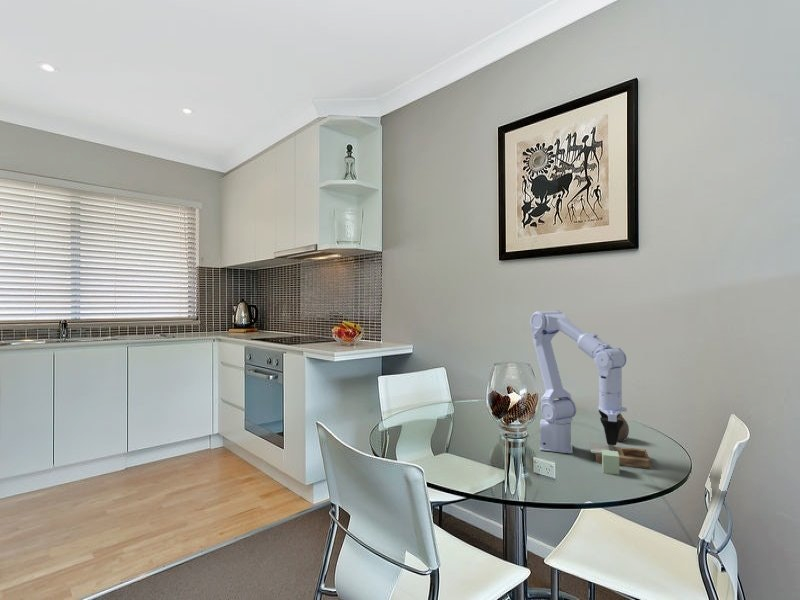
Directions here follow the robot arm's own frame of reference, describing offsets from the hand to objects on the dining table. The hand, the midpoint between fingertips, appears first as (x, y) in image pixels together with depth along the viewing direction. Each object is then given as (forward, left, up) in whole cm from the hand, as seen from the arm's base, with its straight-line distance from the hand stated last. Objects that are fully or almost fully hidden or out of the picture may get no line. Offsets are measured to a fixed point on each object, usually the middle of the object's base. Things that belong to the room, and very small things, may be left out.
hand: (610, 439), depth 122 cm
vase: (+4, +28, -9) cm, 30 cm away
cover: (-2, +10, -6) cm, 11 cm away
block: (0, 0, -9) cm, 9 cm away
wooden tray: (+3, +10, -9) cm, 13 cm away
